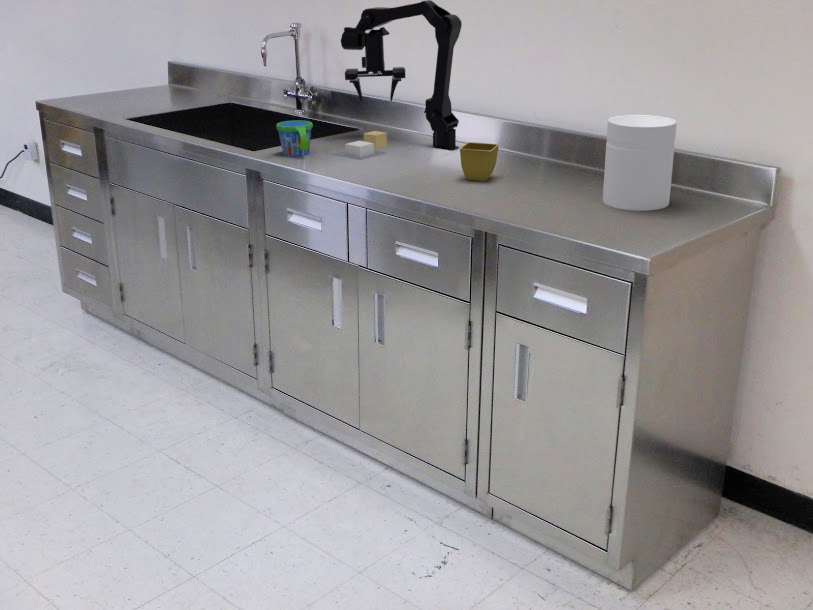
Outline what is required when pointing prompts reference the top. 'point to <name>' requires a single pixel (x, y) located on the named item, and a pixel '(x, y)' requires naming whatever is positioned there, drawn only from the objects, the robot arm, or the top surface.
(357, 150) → the white brick
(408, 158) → the top surface
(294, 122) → the snack cup
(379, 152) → the baseplate
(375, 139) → the ochre brick
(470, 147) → the flower pot
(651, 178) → the canister
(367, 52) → the robot arm
